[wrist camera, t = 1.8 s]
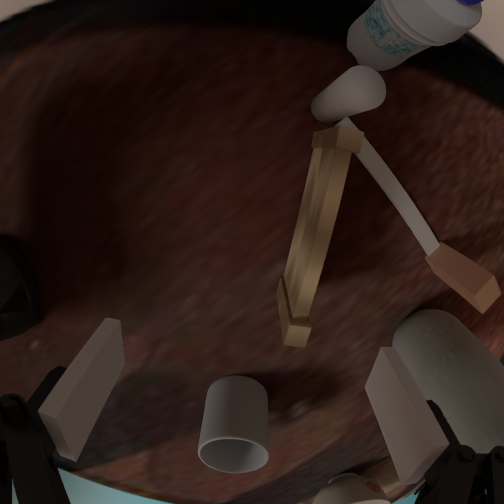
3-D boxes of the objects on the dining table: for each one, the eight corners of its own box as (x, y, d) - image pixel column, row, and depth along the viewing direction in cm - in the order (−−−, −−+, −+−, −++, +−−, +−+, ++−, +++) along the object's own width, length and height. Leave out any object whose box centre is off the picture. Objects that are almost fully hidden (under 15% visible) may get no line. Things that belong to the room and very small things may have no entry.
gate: (313, 132, 29) (340, 124, 20) (331, 136, 29) (364, 132, 20) (276, 292, 34) (283, 344, 25) (292, 295, 35) (304, 347, 25)
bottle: (380, 87, 28) (505, 41, 9) (329, 51, 27) (411, -44, 8) (405, 47, 26) (521, -11, 7) (357, 12, 25) (442, -82, 6)
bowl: (386, 476, 50) (397, 510, 41) (322, 501, 53) (327, 534, 44) (368, 450, 46) (380, 491, 37) (292, 479, 49) (295, 519, 39)
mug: (212, 368, 39) (201, 430, 29) (274, 380, 40) (279, 442, 29) (200, 422, 43) (191, 478, 33) (254, 431, 44) (253, 487, 33)
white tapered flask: (440, 284, 35) (581, 428, 9) (444, 341, 38) (543, 481, 12) (375, 312, 36) (485, 505, 10) (386, 368, 39) (461, 535, 13)
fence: (304, 106, 29) (332, 82, 18) (326, 87, 28) (363, 57, 17) (433, 274, 35) (486, 319, 23) (450, 257, 34) (507, 297, 23)
